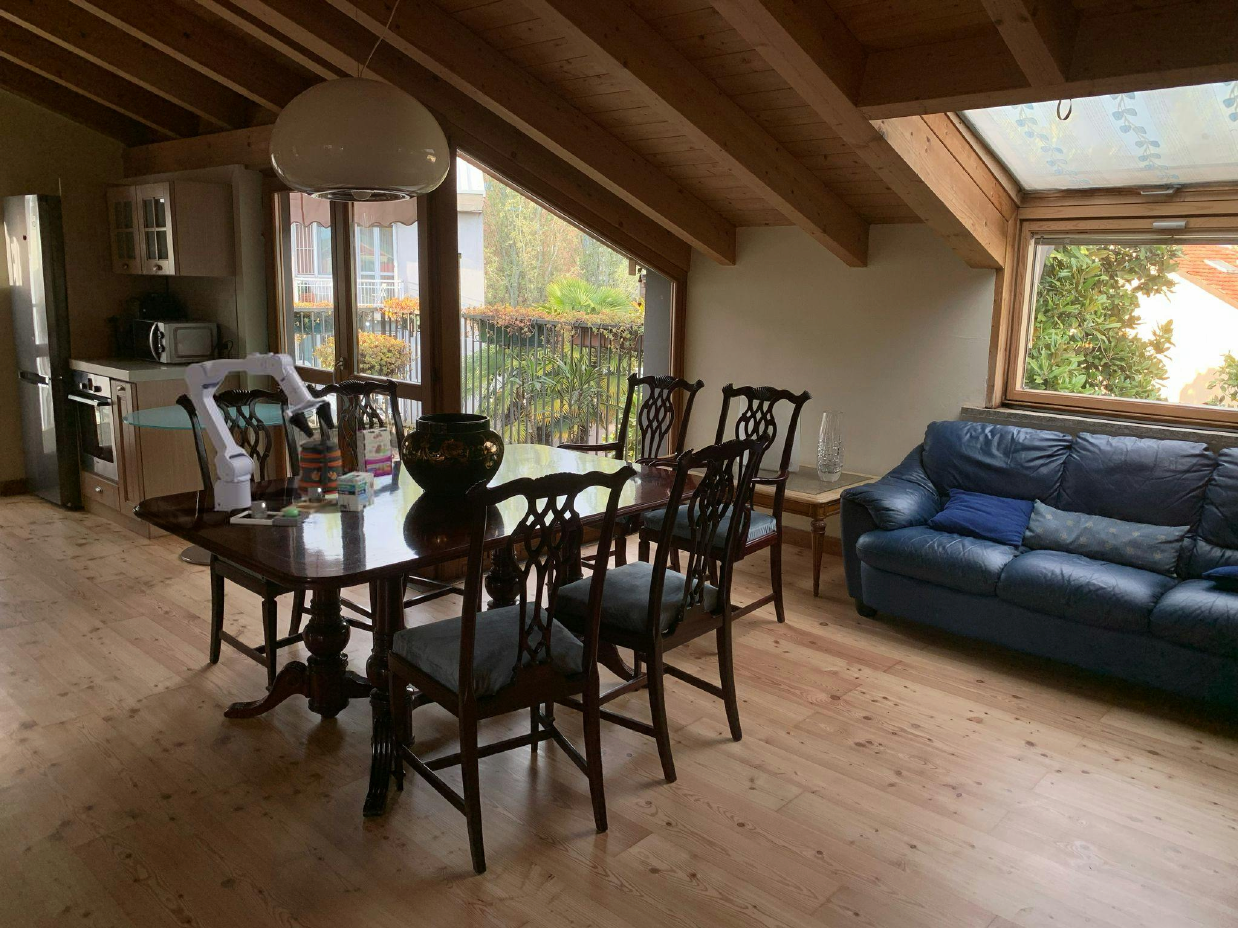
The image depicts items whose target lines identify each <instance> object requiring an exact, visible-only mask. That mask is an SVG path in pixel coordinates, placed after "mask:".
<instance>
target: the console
mask: <svg viewBox="0 0 1238 928" xmlns="http://www.w3.org/2000/svg"><path fill="white" fill-rule="evenodd" d="M272 519H273V521H274V524H273V526H283V527H285V526H286V527H299V526H302V525H303V524H305V523H306V522H307V520H308V519H310V515H309V513H298V517H296V518H291V517H285V515H284V513H282V514H280V515H276V516H274V517H273V518H272Z"/></svg>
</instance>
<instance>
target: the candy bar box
mask: <svg viewBox="0 0 1238 928" xmlns="http://www.w3.org/2000/svg"><path fill="white" fill-rule="evenodd" d="M356 442H357V444H356V446H357V448H356V449H357V463H358V466H357V467H358V472H365V473H374V478H378V477H383V476H385V477H386V476H390V475H393V456H392V455H393V452H392V432H391V428H389V427H379V428H370V429H363V430H356Z"/></svg>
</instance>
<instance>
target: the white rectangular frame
mask: <svg viewBox="0 0 1238 928" xmlns="http://www.w3.org/2000/svg"><path fill="white" fill-rule="evenodd" d="M248 514H252V513H251V510H246V511H244V512H241V513H240V514H237V515H235V516H232V517H231V518H229V519H230V520H229V521H230V524H242V525H243V524H244V525H262V526H263V525H266V526H274V521H273V518H272V519H269V518H268V519H267V518H266V519H267V520H260V519H252V518H250V517H249V518H248V517H243V516H246V515H248ZM280 514H282V513H281V511H279V512H278V511H277V512H276V511H267V515H276V516H278V515H280Z"/></svg>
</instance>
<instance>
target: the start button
mask: <svg viewBox="0 0 1238 928" xmlns="http://www.w3.org/2000/svg"><path fill="white" fill-rule="evenodd" d="M284 515H285V517H291V518H296V517H298V509H286V510H284Z"/></svg>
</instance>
